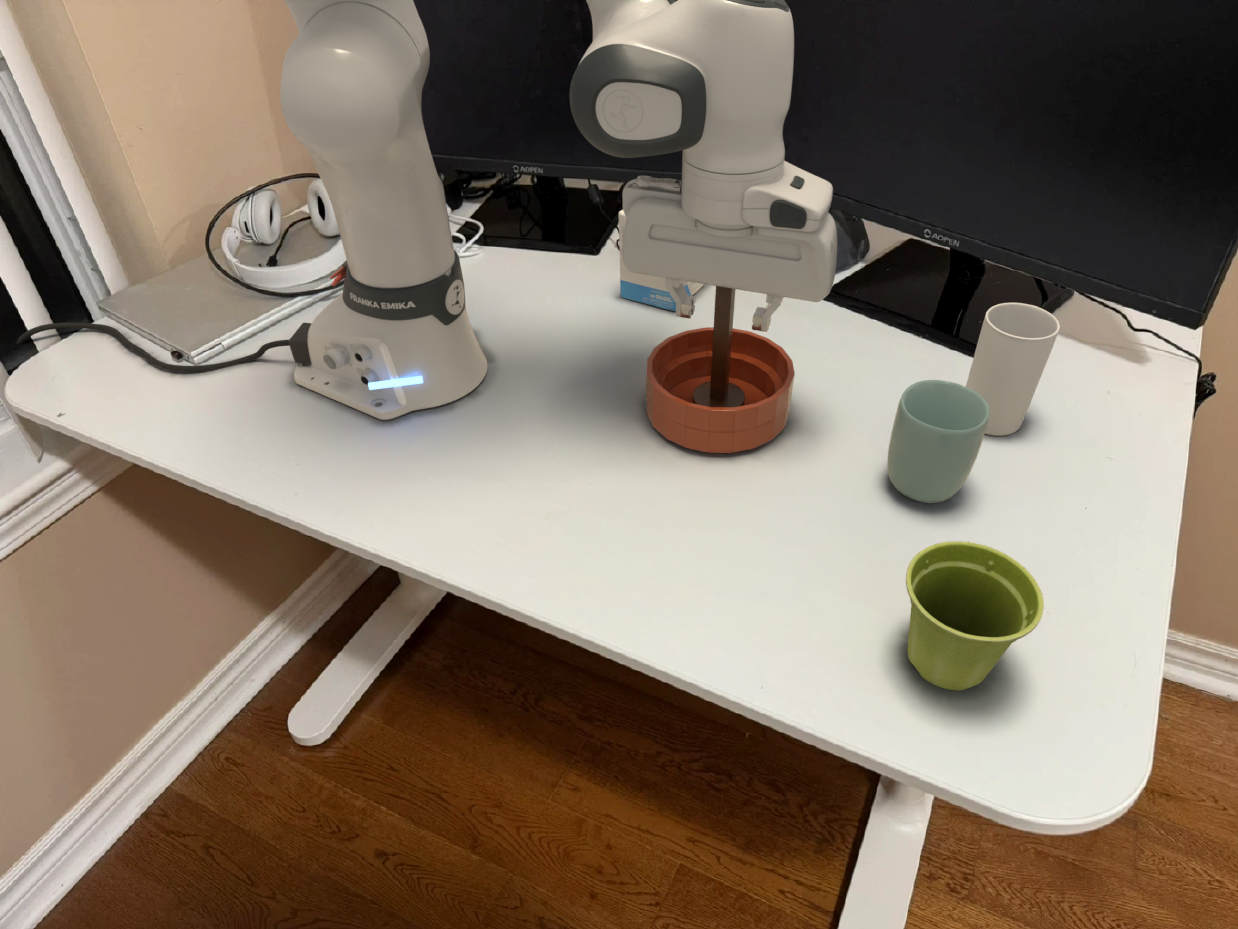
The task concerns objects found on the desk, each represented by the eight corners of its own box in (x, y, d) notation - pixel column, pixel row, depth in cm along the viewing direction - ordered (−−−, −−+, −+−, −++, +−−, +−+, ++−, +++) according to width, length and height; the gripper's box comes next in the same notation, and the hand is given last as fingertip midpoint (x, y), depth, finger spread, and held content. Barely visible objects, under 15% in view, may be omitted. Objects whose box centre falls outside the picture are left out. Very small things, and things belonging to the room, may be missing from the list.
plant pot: (1007, 727, 62) (1043, 657, 56) (876, 689, 65) (898, 617, 59) (1012, 631, 69) (1045, 559, 63) (893, 600, 71) (915, 528, 66)
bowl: (626, 439, 88) (625, 393, 85) (672, 361, 99) (673, 317, 95) (769, 471, 84) (775, 423, 80) (800, 386, 95) (807, 341, 91)
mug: (1013, 446, 86) (1049, 346, 78) (947, 424, 89) (976, 325, 81) (1039, 396, 92) (1075, 300, 84) (977, 377, 95) (1007, 282, 87)
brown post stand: (685, 417, 90) (690, 267, 79) (700, 387, 94) (707, 241, 82) (736, 427, 89) (749, 277, 77) (749, 397, 92) (763, 249, 81)
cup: (972, 476, 83) (1000, 394, 76) (952, 525, 78) (979, 442, 71) (893, 451, 86) (914, 370, 79) (869, 497, 81) (888, 415, 74)
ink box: (675, 313, 107) (677, 213, 98) (618, 297, 111) (616, 199, 102) (706, 284, 113) (710, 186, 104) (651, 269, 116) (651, 174, 107)
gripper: (609, 186, 76) (614, 319, 85) (838, 216, 70) (817, 356, 79) (633, 160, 80) (635, 289, 89) (851, 187, 74) (829, 322, 83)
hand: (722, 321), depth 84 cm, fingers open, 6 cm apart
